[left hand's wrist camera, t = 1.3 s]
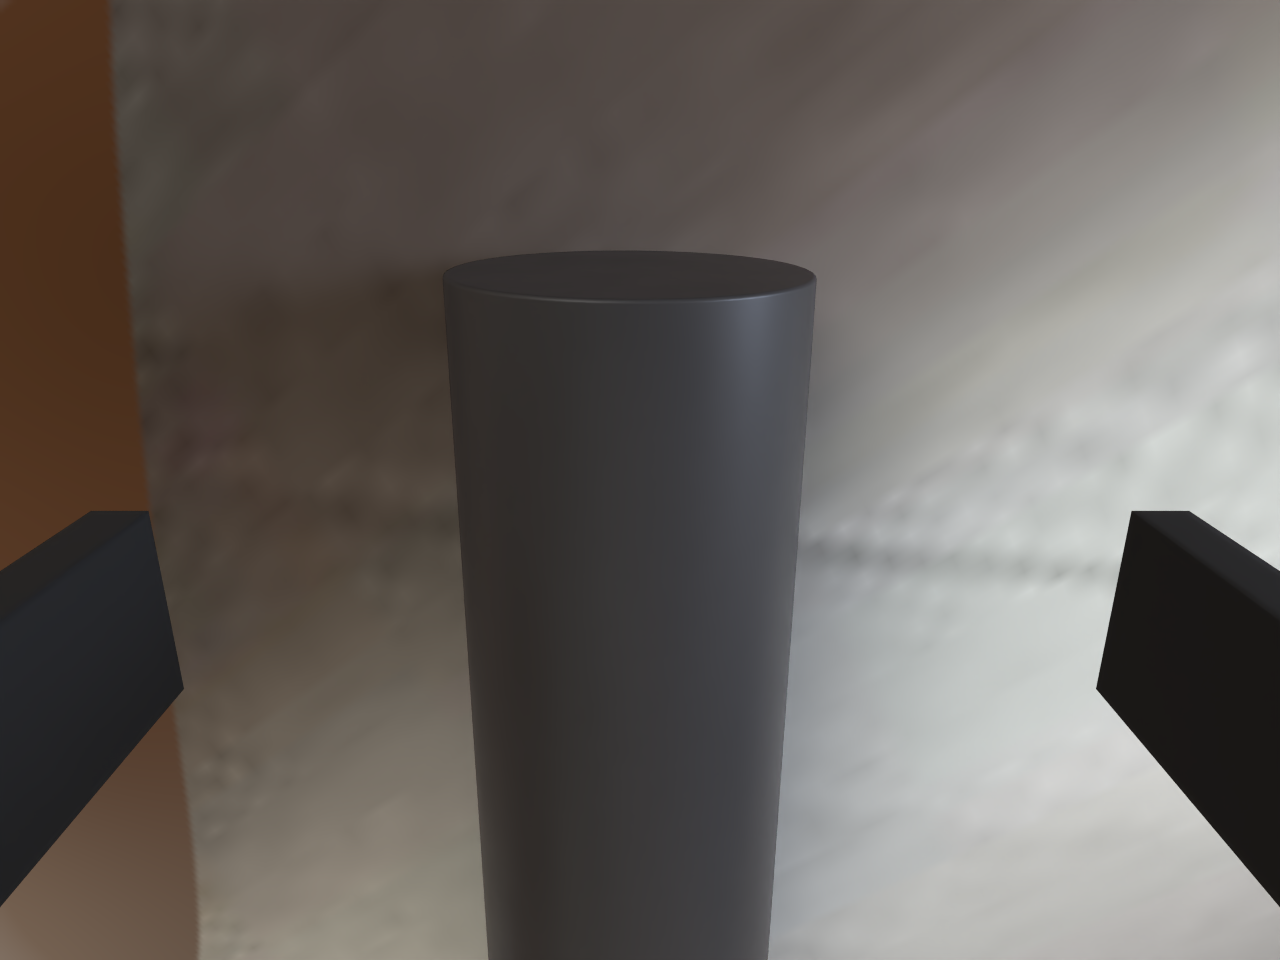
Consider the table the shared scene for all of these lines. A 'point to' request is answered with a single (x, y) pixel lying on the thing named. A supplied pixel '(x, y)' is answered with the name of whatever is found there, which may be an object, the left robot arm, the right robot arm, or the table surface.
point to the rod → (628, 590)
